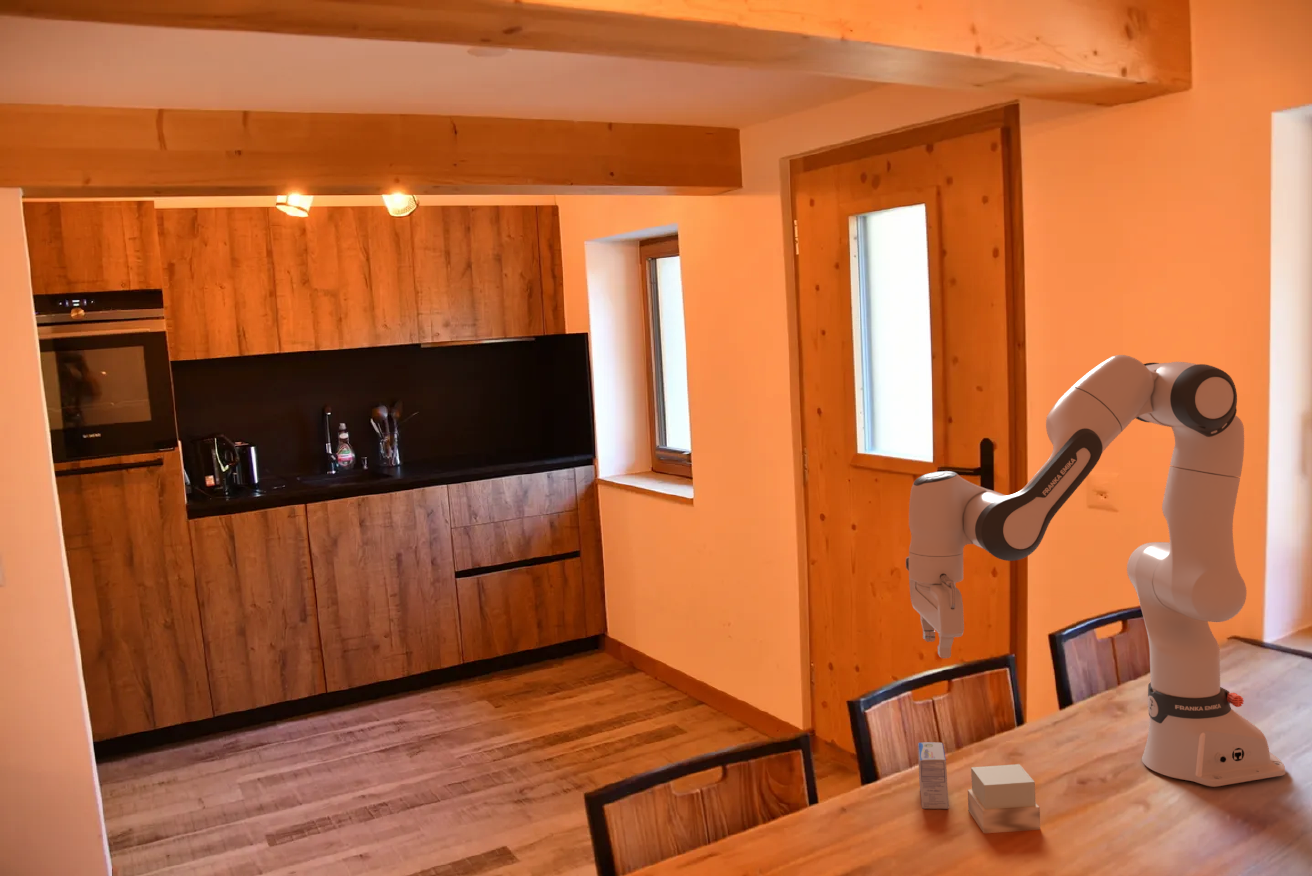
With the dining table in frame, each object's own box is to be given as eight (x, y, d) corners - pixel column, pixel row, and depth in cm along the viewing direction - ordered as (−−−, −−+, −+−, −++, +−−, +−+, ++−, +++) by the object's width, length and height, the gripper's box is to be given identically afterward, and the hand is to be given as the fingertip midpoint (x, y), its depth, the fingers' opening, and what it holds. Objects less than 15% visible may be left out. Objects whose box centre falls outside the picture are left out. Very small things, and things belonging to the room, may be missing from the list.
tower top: (1020, 787, 174) (1019, 764, 174) (1035, 806, 167) (1034, 782, 167) (972, 790, 174) (971, 767, 174) (985, 809, 167) (984, 785, 167)
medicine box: (948, 810, 175) (946, 760, 175) (921, 809, 176) (919, 759, 175) (945, 789, 183) (943, 741, 182) (919, 789, 184) (917, 741, 183)
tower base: (1022, 809, 175) (1021, 785, 174) (1040, 831, 167) (1039, 807, 166) (968, 812, 175) (967, 789, 174) (983, 835, 167) (983, 811, 166)
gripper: (973, 582, 167) (974, 667, 168) (938, 555, 187) (938, 631, 188) (934, 583, 166) (934, 668, 168) (902, 556, 187) (903, 632, 188)
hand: (936, 648), depth 178 cm, fingers open, 8 cm apart
